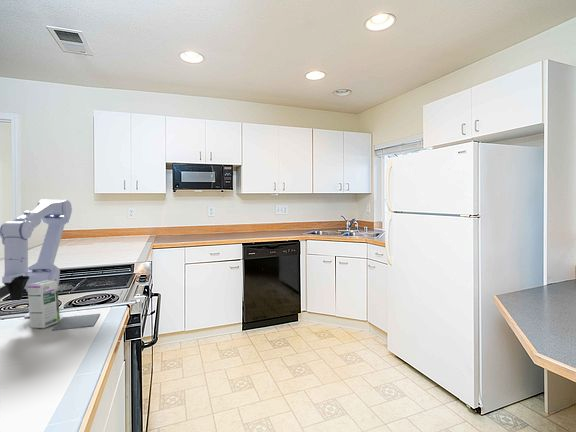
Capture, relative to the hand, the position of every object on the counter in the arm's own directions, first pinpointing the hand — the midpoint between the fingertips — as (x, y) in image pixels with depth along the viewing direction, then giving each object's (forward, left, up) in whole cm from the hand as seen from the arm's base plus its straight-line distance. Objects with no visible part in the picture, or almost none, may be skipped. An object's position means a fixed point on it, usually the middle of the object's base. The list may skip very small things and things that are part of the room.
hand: (16, 299), depth 102 cm
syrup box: (0, +8, -9) cm, 12 cm away
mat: (0, +17, -9) cm, 19 cm away
